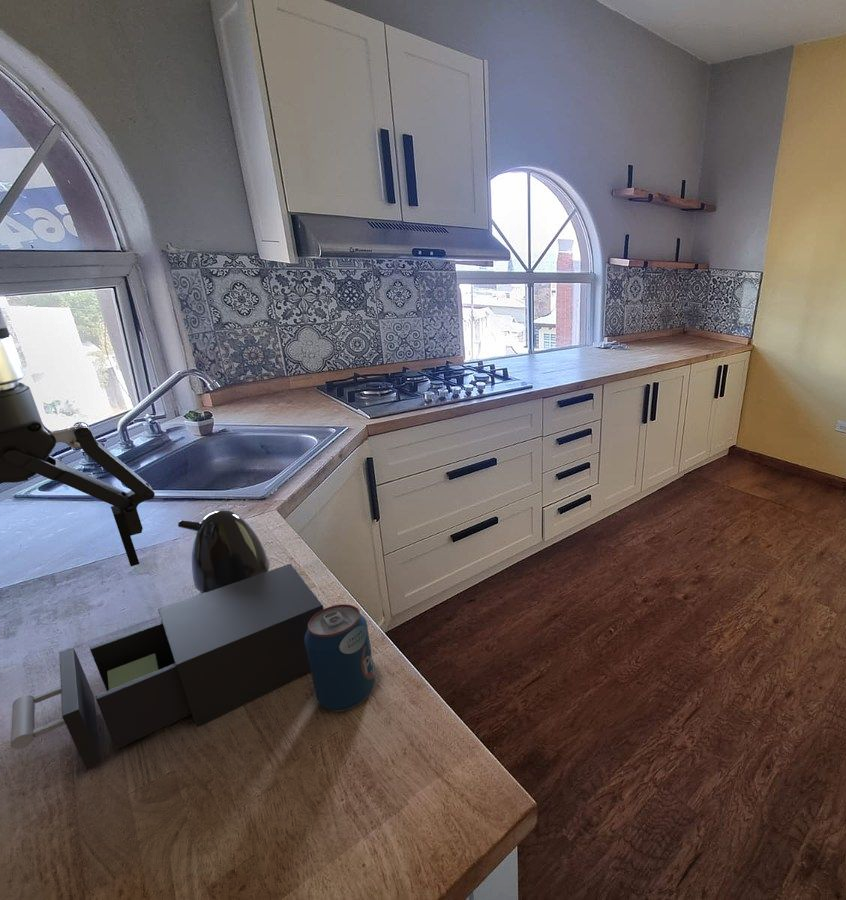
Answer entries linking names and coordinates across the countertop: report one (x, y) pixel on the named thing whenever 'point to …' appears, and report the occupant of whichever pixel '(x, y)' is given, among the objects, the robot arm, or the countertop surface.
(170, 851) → the countertop surface
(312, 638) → the soda can
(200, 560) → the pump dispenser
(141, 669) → the block
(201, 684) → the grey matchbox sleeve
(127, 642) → the drawer
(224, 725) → the countertop surface
